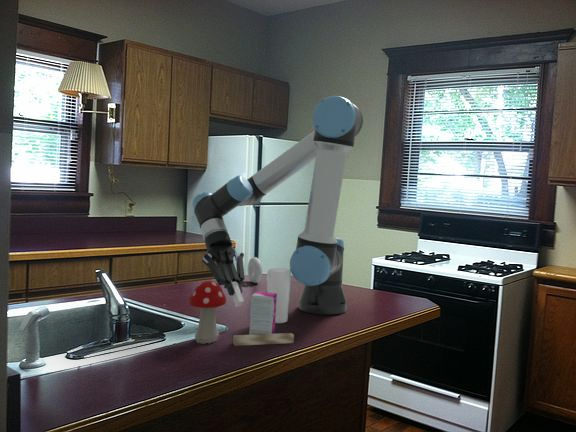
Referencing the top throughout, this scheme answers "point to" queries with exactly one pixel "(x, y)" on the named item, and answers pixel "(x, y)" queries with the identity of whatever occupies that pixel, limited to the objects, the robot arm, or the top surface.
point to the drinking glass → (280, 291)
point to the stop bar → (263, 339)
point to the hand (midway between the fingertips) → (239, 304)
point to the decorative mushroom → (207, 310)
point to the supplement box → (263, 313)
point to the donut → (255, 270)
